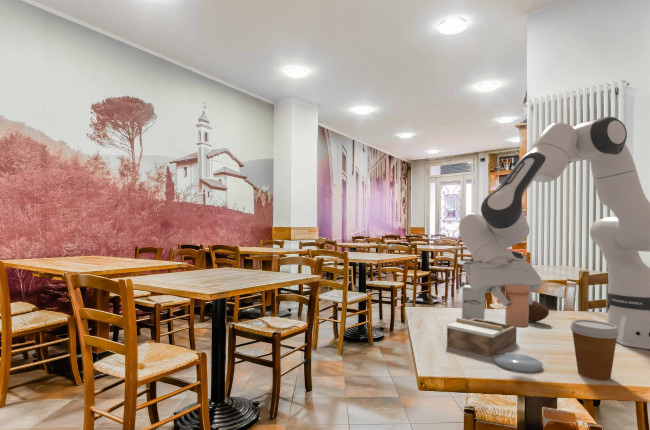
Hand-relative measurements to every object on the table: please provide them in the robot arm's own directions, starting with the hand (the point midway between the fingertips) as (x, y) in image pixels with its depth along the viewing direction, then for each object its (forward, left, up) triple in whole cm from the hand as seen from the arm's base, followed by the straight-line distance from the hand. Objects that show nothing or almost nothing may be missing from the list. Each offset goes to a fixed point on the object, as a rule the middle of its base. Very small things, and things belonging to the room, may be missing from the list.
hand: (519, 304), depth 96 cm
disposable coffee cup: (-15, -6, -15) cm, 22 cm away
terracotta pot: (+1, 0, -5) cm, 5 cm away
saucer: (0, 0, -15) cm, 15 cm away
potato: (+11, -51, -15) cm, 55 cm away
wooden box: (+13, -10, -15) cm, 23 cm away
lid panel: (+13, -5, -10) cm, 18 cm away
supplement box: (+27, -36, -15) cm, 48 cm away
